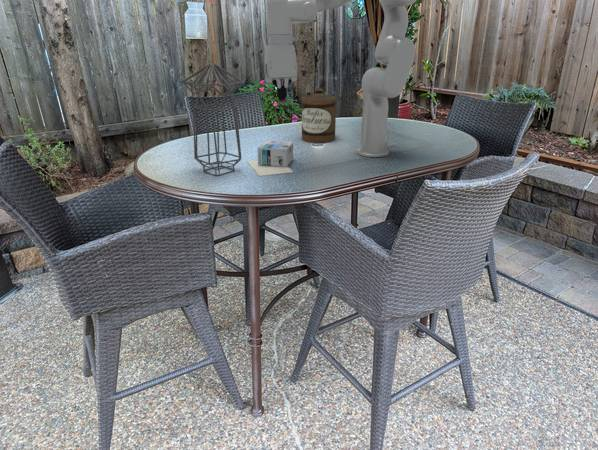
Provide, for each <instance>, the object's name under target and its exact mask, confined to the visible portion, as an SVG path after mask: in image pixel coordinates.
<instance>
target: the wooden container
mask: <svg viewBox="0 0 598 450" xmlns="http://www.w3.org/2000/svg"><path fill="white" fill-rule="evenodd" d="M323 91H324V90H323V88H322V87H316V88H315V89H314V94H312V95H311V94H309V95H304V96H301V140H302V141H305V142H308V143H314V144H321V143H322V144H323V143H331V142H333V141H335V140H336V123H337V122H336V103H337V101H336V100H337V99H336V96H334V95H329V94H324V93H323Z"/></svg>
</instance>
